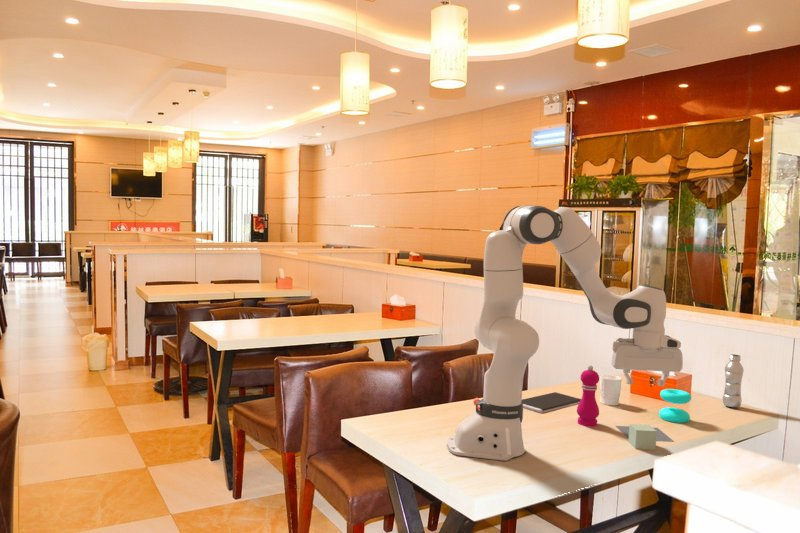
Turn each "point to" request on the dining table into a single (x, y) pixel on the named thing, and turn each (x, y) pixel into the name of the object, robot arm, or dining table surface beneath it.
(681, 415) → the donuts
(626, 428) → the mat
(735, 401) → the plastic bottle
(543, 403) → the dark grey flat slab
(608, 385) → the white cup
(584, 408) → the pepper mill
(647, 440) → the sage block
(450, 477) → the dining table surface
